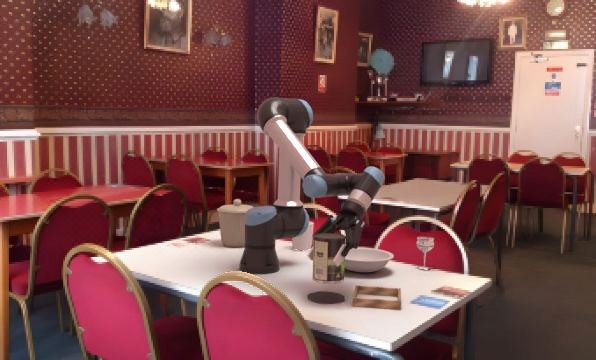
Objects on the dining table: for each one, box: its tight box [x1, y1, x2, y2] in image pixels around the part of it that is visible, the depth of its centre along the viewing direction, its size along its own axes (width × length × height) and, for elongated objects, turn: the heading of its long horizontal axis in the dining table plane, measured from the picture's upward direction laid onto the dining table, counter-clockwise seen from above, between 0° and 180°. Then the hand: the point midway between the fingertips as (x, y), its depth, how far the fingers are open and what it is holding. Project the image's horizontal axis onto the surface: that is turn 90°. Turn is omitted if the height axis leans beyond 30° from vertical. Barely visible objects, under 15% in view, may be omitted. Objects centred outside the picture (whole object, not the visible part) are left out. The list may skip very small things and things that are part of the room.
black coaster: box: [306, 290, 346, 305], centre depth 183 cm, size 12×12×1 cm
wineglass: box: [416, 236, 435, 268], centre depth 225 cm, size 7×7×12 cm
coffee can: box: [311, 232, 346, 285], centre depth 181 cm, size 10×10×14 cm
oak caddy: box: [351, 285, 402, 311], centre depth 181 cm, size 15×15×2 cm
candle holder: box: [291, 220, 315, 250], centre depth 255 cm, size 10×10×12 cm
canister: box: [216, 198, 255, 248], centre depth 260 cm, size 18×18×21 cm
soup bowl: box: [344, 246, 394, 273], centre depth 219 cm, size 24×24×7 cm
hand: (322, 260), depth 179 cm, fingers closed on coffee can, 10 cm apart
